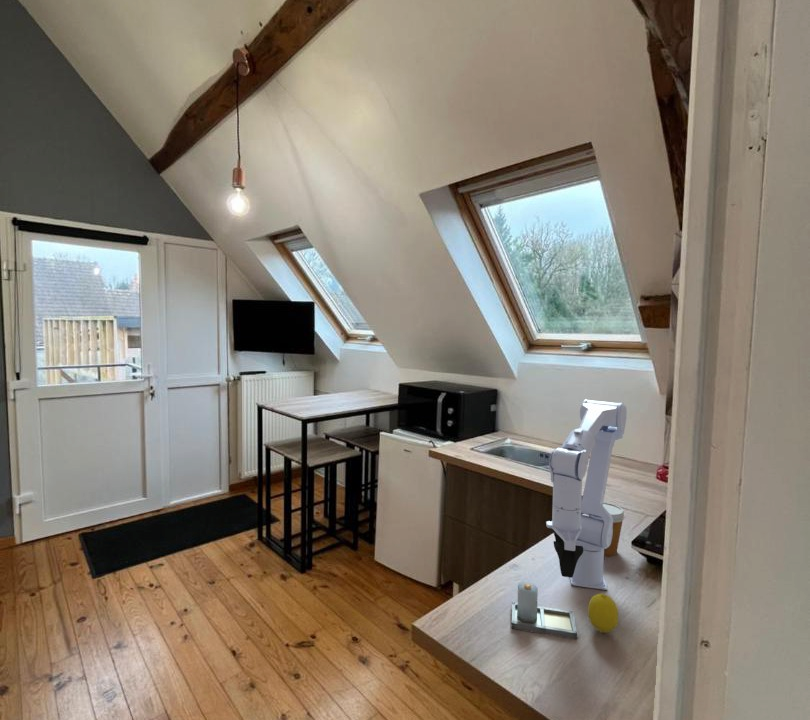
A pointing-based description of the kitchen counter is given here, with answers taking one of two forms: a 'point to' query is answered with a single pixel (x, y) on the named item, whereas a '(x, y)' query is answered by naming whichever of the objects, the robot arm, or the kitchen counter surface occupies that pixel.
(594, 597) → the lemon
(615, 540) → the disposable coffee cup
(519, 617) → the cell
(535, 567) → the kitchen counter surface
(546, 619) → the checker tray
